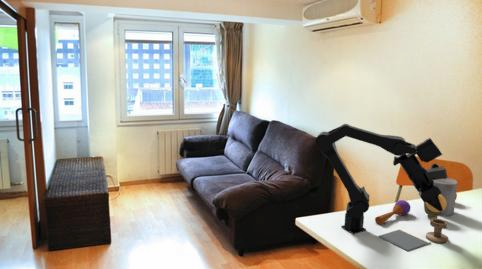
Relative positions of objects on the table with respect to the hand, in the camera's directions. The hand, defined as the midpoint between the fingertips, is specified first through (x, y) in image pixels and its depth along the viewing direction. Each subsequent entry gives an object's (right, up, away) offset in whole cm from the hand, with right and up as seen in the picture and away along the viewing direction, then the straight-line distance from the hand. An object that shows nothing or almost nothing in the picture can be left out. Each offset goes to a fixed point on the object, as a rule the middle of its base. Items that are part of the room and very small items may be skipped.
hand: (439, 207), depth 131 cm
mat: (-11, -12, +2) cm, 16 cm away
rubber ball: (-1, +2, 0) cm, 2 cm away
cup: (+8, -9, +21) cm, 24 cm away
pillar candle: (+15, -7, +28) cm, 33 cm away
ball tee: (+1, -12, +3) cm, 12 cm away
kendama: (-8, -9, +21) cm, 24 cm away
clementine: (+24, -5, +39) cm, 46 cm away
